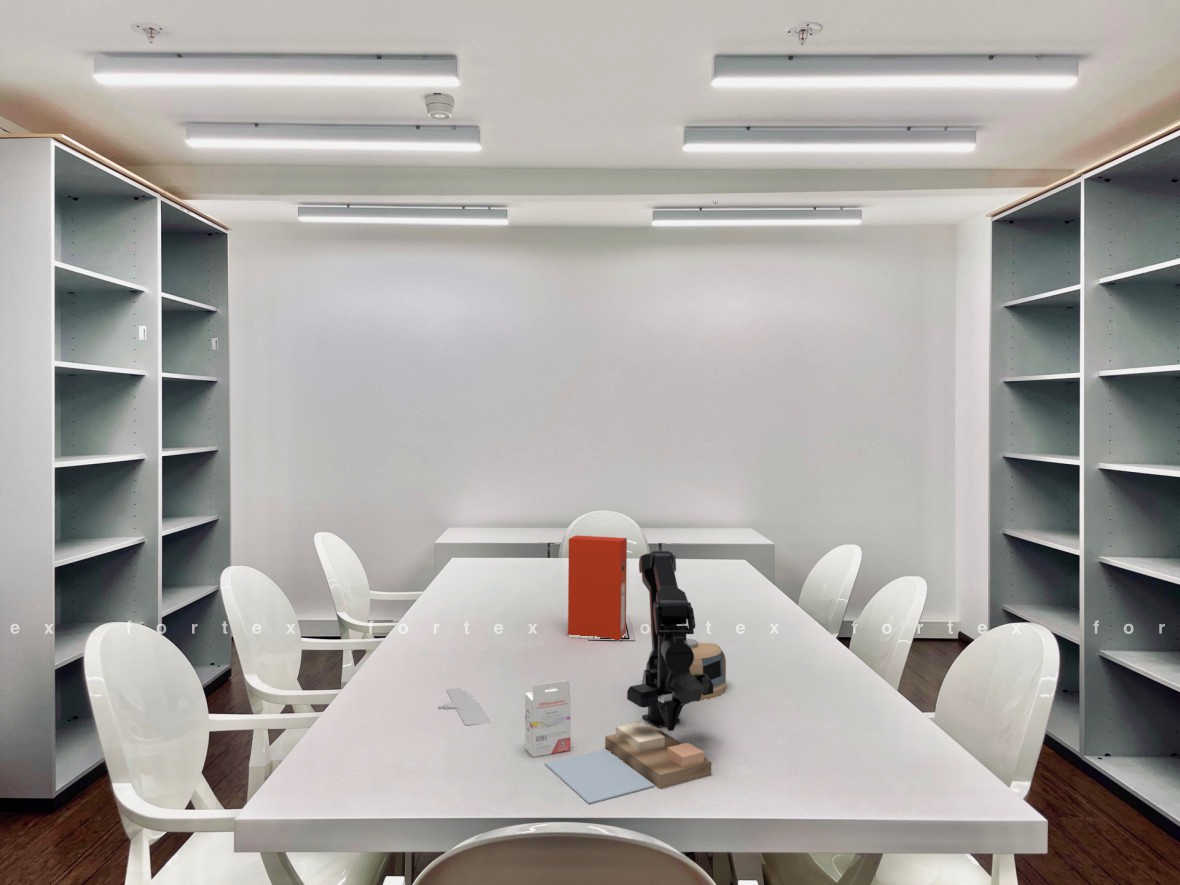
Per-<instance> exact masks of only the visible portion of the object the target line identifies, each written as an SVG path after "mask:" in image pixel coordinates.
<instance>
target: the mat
mask: <svg viewBox="0 0 1180 885" xmlns="http://www.w3.org/2000/svg"><path fill="white" fill-rule="evenodd" d="M544 765H545V766H546V767H547V768H548V769H549V770H550V771H551V772H553V774H555V775H556V776H557V777H558V778H559V779H560V780H562V782H563V783H564V784H566V785H567V786H568V787H569V788H570V789H571V790H572V791H574V792H575V793H576V794H577V795H578V797H580V798H581V799H582V800H583V801H584V802H586V803H587V804H588V805H591V804H595V803H598V802H602V801H607V800H610V799H615V798H618V797H621V796H626V795H630V794H634V793H637V792H640V791H644V790H648V789H652V788H655V786H656V785H655V784H653V783H652V782H650V781H649V780H648V779H646V778H645V777H644V776H642V775H641V774H640V773H638V772H637V771H636V770H634V769H633V768H631V767H630V766H629V765H627V764H626V763H625V762H623V761H622V760H621V759H619V758H618V757H617V756H615V755H614V754H612V753H611V752H610V751H608V750H607V749H606V748H605V749H604V748H603V749H600V750H596V751H591V752H586V753H582V754H578V755H573V756H569V757H565V758H561V759H556V760H553V761H551V760H550V761H548V762H544Z"/></svg>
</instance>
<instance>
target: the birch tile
mask: <svg viewBox="0 0 1180 885" xmlns="http://www.w3.org/2000/svg"><path fill="white" fill-rule="evenodd" d="M615 734H616V737H618V738H619V739H621V740H622V741H624V742H625V743H627V744H628V745H630V746H631V747H632V748H634V749H635V750H637V751H638V752H644V751H648V750H652V749H656V748H661V747H665V737H664V736H663V735H661V734H659V733H658V732H656V731H655V730H653V729H651V728H650V726H648V725H647V724H645V723H643V722H642V721H638V722H632V723H627V724H623V725H618V726H616V727H615Z"/></svg>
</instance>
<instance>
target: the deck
mask: <svg viewBox="0 0 1180 885" xmlns="http://www.w3.org/2000/svg"><path fill="white" fill-rule="evenodd" d="M649 727H650V728H651V729H653V730H655V731H656V732H658V733H659V734H661V735H663V736H664V737H665V747H661V748H656V749H652V750H648V751H644V752H638V751H637V750H635V749H634V748H632V747H631V746H630V745H628V744H627V743H625V742H624V741H622V740H621V739H619V738H618V737H616V733H614V734H610V735H606V736H604V740H605V741H604V742H605V743H604V744H605V746H604V747H605V749H606V748H607V749H608V750H609V752H610V751H611V752H612V753H613V755H614V754H615V755H616V757H617V756H618V757H619V758H620V760H621V761H622V760H623V761H624V763H625V764H628V766H629V767H631V768H632V769H633V770H635V771H636V772H637V773H639V774H640V775H642V776H643V777H644V778H646V779H647V780H648V781H650V782H651V783H652V784H654V785H655V786H656V787H658V789H663V788H667V787H671V786H674V785H675V786H676V785H677V784H681V783H685V782H686V783H687V782H689V781H693V780H696V779H699V778H700V779H701V778H704V777H707V776H711V775H712V761H711V760H709V759H707V758H706V757H705V756H704V762H703V763H699V764H695V765H691V766H687V767H684V768H682V767H681V766H679V765H678V764H676V763H675V762H673V761H672V760H670V759H669V758H667V747H671V746H676V745H680V744H683V743H682V742H680V741H678V740H677V739H675V738H673V737H672V736H671V735H669V734H667V733H666V732H664V731H662V730H661V729H659V728H658V727H656V726H655V725H651V726H649ZM607 749H606V750H607ZM611 752H610V753H611ZM615 755H614V756H615ZM618 757H617V758H618ZM619 758H618V759H619Z"/></svg>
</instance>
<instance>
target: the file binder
mask: <svg viewBox="0 0 1180 885" xmlns="http://www.w3.org/2000/svg"><path fill="white" fill-rule="evenodd" d="M627 542H628V539H627V537H614V536H613V537H611V536H610V537H609V536H597V535H596V536H593V535H591V536H590V535H574V536H572V537H569V538H568V568H567V569H568V573H567V574H568V581H567V582H568V584H567V585H568V588H567V589H568V591H567V602H568V605H567V607H568V608H567V635H568V634H570V635H580V636H597V637H605V638H610V639H615V640H620V639H621V638H622V636H623V635H624V634H625V633H626V634H627V569H628V568H627V566H628V564H627V563H628V562H627V561H628V560H627V558H628V557H627V556H628V555H627V551H628V550H627V549H628V547H627V546H628V544H627Z"/></svg>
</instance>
